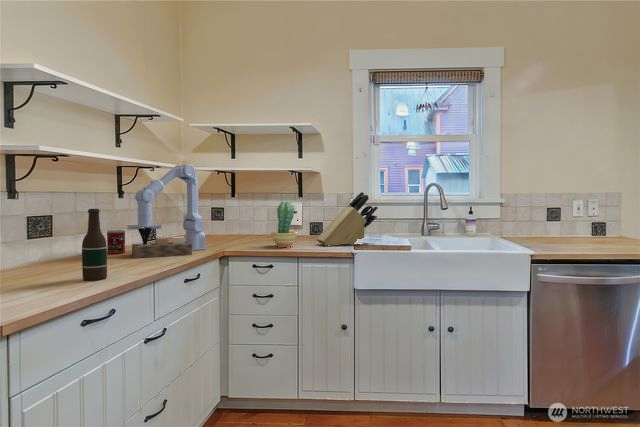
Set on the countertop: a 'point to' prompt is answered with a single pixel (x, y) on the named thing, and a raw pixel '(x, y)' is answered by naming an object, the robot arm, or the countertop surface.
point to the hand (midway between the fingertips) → (144, 244)
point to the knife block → (349, 223)
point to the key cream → (178, 240)
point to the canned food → (116, 242)
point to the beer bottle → (94, 250)
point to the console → (161, 250)
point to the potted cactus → (284, 226)
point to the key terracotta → (162, 241)
